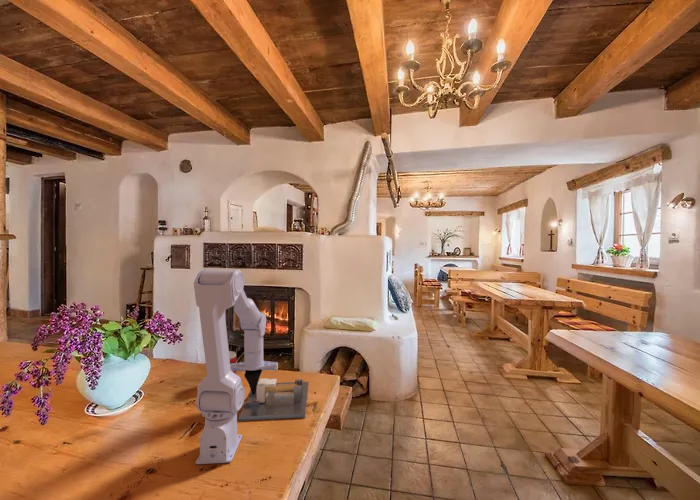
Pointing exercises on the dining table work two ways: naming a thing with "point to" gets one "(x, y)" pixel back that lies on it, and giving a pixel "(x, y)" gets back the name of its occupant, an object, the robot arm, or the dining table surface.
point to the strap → (281, 387)
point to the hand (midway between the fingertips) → (254, 392)
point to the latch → (264, 388)
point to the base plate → (277, 404)
